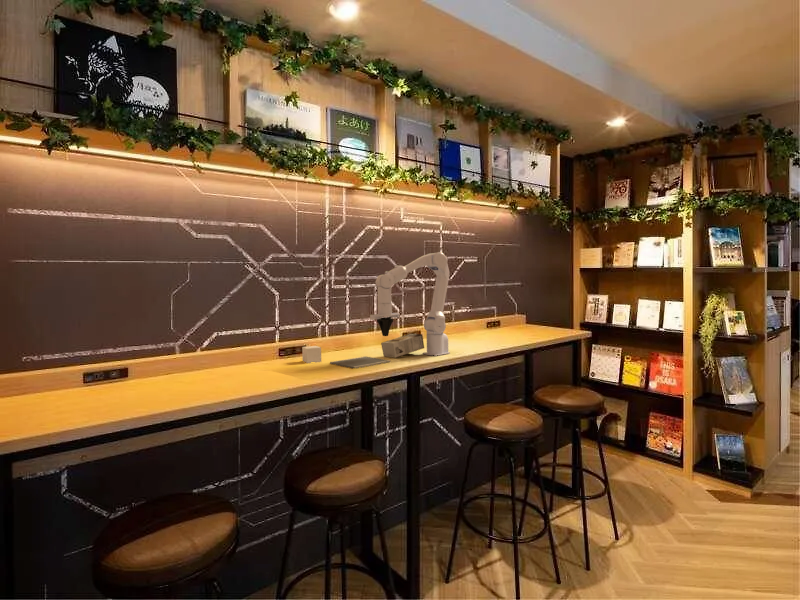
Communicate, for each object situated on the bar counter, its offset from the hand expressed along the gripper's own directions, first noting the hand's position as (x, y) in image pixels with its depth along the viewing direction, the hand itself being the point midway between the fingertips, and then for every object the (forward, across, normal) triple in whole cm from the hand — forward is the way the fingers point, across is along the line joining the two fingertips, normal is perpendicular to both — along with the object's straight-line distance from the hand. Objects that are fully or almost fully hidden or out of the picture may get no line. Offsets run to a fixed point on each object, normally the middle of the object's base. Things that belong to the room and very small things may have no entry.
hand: (385, 335), depth 191 cm
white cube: (+10, +24, -18) cm, 32 cm away
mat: (+10, +14, 0) cm, 17 cm away
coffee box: (+6, -2, 0) cm, 6 cm away
